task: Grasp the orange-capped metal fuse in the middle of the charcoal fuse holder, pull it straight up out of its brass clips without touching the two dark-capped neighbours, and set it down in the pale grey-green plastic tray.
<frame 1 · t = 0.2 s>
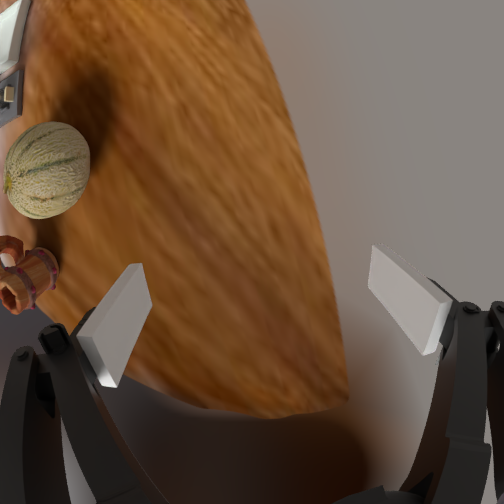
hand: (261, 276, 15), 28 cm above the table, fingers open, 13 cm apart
mug: (42, 252, 42), on the table
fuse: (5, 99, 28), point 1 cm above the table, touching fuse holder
cantaloupe: (71, 164, 37), on the table
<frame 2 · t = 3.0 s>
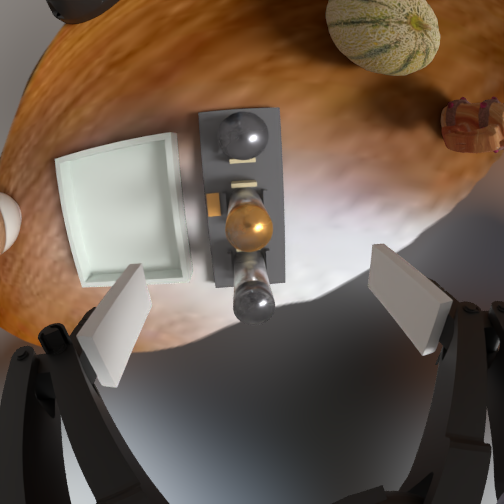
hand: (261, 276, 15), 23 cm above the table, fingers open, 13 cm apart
lidded jar: (12, 214, 34), on the table
fuse holder: (244, 199, 36), on the table
marked fuse: (244, 202, 35), point 1 cm above the table, touching fuse holder
mug: (442, 126, 33), on the table
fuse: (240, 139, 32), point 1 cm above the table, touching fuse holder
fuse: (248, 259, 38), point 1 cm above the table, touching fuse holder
tray: (125, 212, 36), on the table
cantaloupe: (359, 40, 28), on the table
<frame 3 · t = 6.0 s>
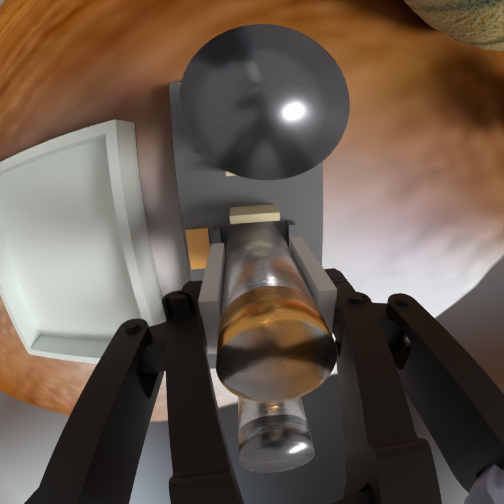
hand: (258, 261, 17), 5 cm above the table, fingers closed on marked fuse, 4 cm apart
fuse holder: (253, 237, 21), on the table
marked fuse: (254, 243, 20), point 1 cm above the table, touching fuse holder, gripper
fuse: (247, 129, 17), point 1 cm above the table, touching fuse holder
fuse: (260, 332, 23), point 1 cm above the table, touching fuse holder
tray: (66, 254, 21), on the table
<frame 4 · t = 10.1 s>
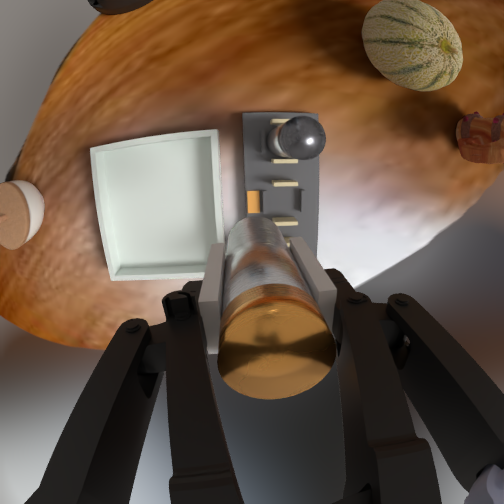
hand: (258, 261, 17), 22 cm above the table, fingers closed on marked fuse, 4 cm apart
lidded jar: (33, 205, 35), on the table
fuse holder: (281, 198, 38), on the table
marked fuse: (255, 243, 20), point 19 cm above the table, touching gripper
mug: (456, 138, 35), on the table
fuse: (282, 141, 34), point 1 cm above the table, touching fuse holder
tray: (161, 205, 37), on the table
cantaloupe: (387, 55, 30), on the table
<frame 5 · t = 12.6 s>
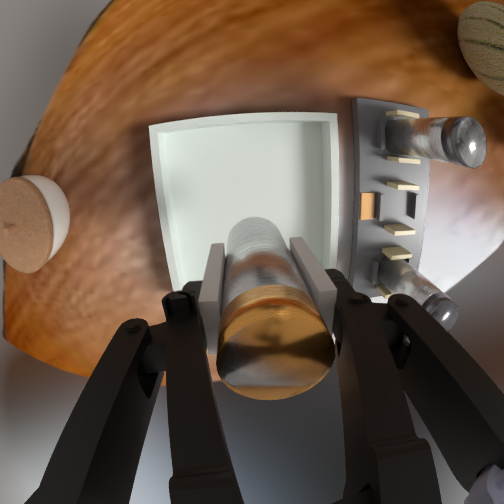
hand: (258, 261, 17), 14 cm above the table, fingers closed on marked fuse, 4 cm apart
lidded jar: (52, 209, 28), on the table
fuse holder: (389, 202, 30), on the table
marked fuse: (254, 243, 20), point 10 cm above the table, touching gripper
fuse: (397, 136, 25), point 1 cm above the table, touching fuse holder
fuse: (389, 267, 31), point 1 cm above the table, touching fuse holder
tray: (248, 208, 29), on the table
cantaloupe: (470, 55, 21), on the table
when the fingers open (6 cm above the table, at t = 14.7 s): marked fuse drops 1 cm, resting on tray.
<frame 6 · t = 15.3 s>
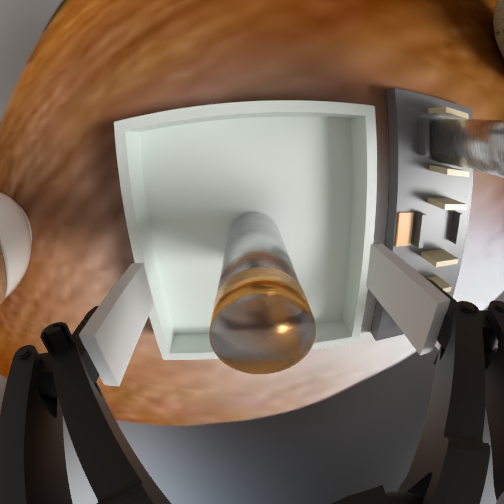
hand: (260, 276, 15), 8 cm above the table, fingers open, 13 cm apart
lidded jar: (15, 229, 20), on the table
fuse holder: (427, 222, 22), on the table
marked fuse: (253, 236, 21), point 1 cm above the table, touching tray
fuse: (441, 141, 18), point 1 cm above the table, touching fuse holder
tray: (252, 233, 22), on the table
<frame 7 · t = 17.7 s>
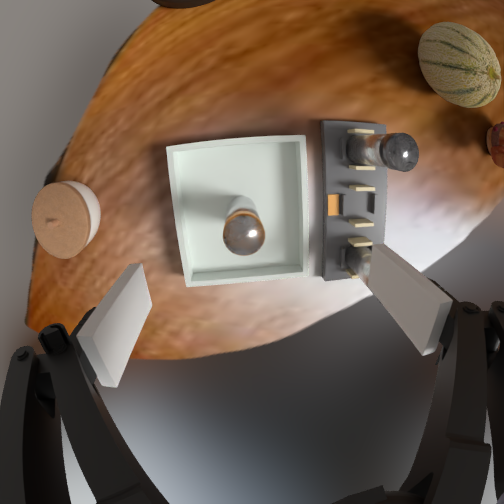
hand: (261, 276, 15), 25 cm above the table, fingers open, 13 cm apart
lidded jar: (83, 208, 37), on the table
fuse holder: (354, 201, 39), on the table
marked fuse: (241, 210, 38), point 1 cm above the table, touching tray
mug: (486, 144, 36), on the table
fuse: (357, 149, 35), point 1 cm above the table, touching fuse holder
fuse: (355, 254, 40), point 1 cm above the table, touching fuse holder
tray: (241, 208, 39), on the table
cantaloupe: (433, 71, 31), on the table
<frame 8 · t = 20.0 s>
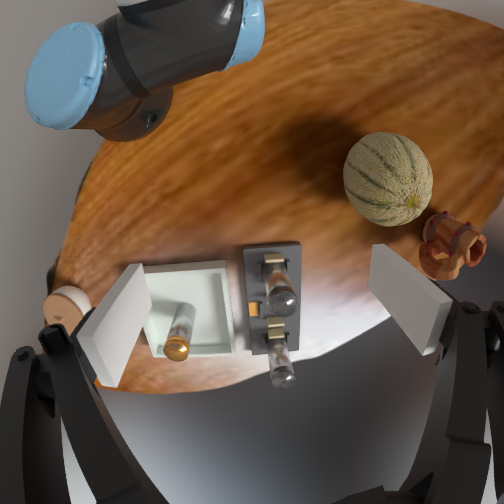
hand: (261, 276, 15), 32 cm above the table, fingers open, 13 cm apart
lidded jar: (78, 298, 51), on the table
fuse holder: (273, 302, 53), on the table
marked fuse: (186, 311, 51), point 1 cm above the table, touching tray
mug: (424, 232, 49), on the table
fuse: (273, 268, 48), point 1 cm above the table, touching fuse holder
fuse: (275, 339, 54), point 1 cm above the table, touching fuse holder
tray: (186, 308, 52), on the table
cantaloupe: (367, 173, 44), on the table
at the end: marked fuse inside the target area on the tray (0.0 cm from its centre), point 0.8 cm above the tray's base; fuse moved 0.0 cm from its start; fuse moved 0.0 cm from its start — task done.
